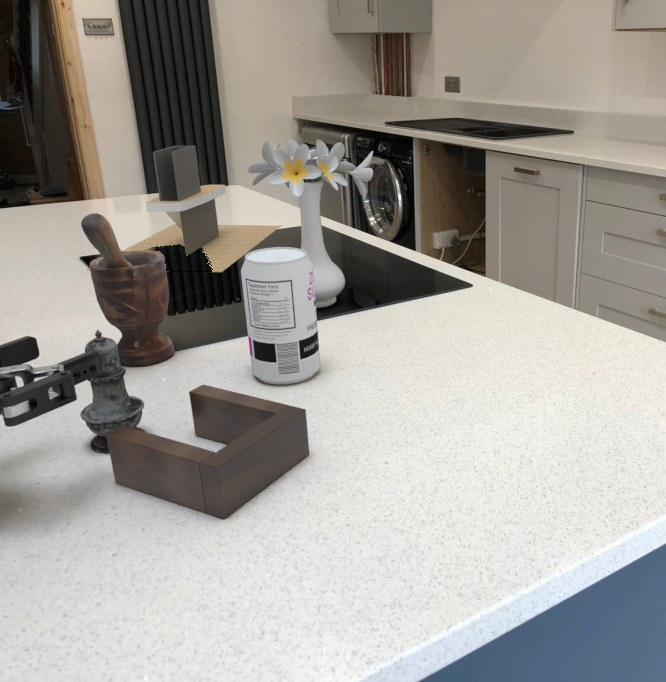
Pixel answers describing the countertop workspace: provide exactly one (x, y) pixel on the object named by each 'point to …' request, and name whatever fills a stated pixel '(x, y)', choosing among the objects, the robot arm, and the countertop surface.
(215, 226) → the architectural model
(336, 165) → the flower vase
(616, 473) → the countertop surface
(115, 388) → the salt shaker
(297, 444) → the stand
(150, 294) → the mortar and pestle
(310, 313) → the supplement can
